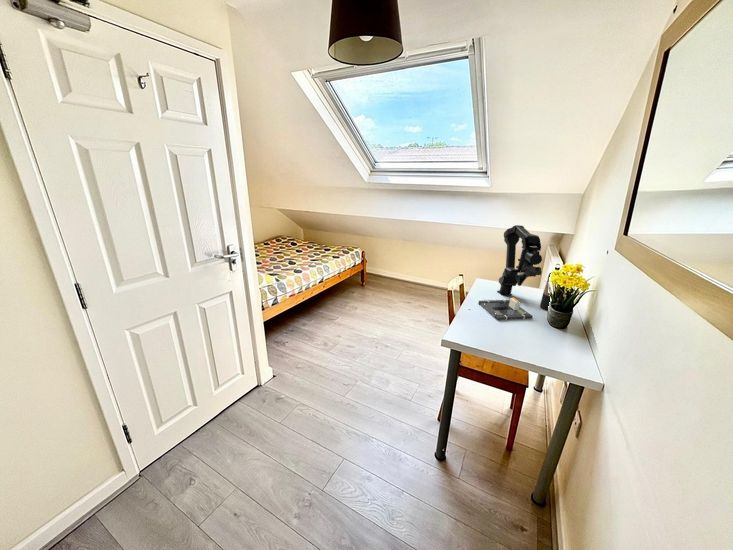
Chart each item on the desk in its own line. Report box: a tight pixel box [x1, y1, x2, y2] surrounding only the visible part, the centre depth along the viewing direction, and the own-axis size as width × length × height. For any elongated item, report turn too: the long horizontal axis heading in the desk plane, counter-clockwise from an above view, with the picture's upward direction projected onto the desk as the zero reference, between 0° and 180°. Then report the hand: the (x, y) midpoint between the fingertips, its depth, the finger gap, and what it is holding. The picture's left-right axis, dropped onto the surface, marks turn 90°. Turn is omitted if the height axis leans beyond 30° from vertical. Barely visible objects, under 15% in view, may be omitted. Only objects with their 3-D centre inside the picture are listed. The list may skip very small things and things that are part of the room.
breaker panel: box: [479, 302, 531, 319], centre depth 159 cm, size 14×20×2 cm
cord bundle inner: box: [477, 299, 510, 306], centre depth 167 cm, size 2×20×2 cm, turn 99°
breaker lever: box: [509, 296, 521, 310], centre depth 159 cm, size 5×2×5 cm, turn 10°
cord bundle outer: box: [494, 313, 534, 321], centre depth 152 cm, size 2×20×2 cm, turn 100°
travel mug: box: [539, 272, 552, 312], centre depth 162 cm, size 8×8×20 cm
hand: (519, 285), depth 162 cm, fingers closed
